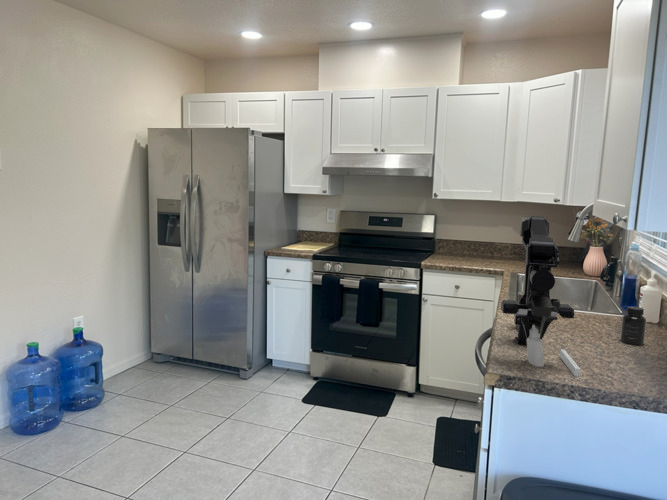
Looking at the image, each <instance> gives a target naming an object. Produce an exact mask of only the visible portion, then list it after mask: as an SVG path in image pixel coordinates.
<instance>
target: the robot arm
mask: <svg viewBox="0 0 667 500" xmlns="http://www.w3.org/2000/svg"><path fill="white" fill-rule="evenodd" d="M519 235H520V236H519V237H521V244H523V247H524V249H525V250H526V251H525V264H524V267H525V268H524V285H523V291H524V294H523V296H522V297H521V298H520V300H519V301H518V300H517V301H516V300H511V299H510V300H508V299H503V300H501V302H500V311H501V313H503V314H506V315H507V314H509V315H514V316H513V317H514V325H516V324H519V325H518V330H517V336H515V337H514V339H515V341H516V344H517V345H522V346H523V345H526V346H527V338H528V337H529V336H530V335H529V329H531V328H532V325H535V328H536V329H537V326H539V327H541V328H540V334H539V338H540V339H541V340H543V339H544V336H545V333H546V332H547V330H548V328H549V326H550V325H551V323H552V322H554V321H558V319H559V317H561V318H562V319H574V318H575V310H574V308H573V307H572V306H570V304H567V303H561V301H560V299H559V298H551V297H550V295H551V293H550V292H551V290H552V289H554V287H555V283H556V278H555V276H554V274H553V273H552V268H558V265H559V264H560V251H559V248H558V246H557V245H555V241H554V239H553V238H552V237H549V235H550V222H548V220H547V217H545V216H535V215H533V216H532V215H531V216H528V219H526V220H524V221H521V224H520V231H519ZM517 303H518V304H517ZM558 315H559V317H558ZM517 318H519V319H517Z"/></svg>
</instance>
